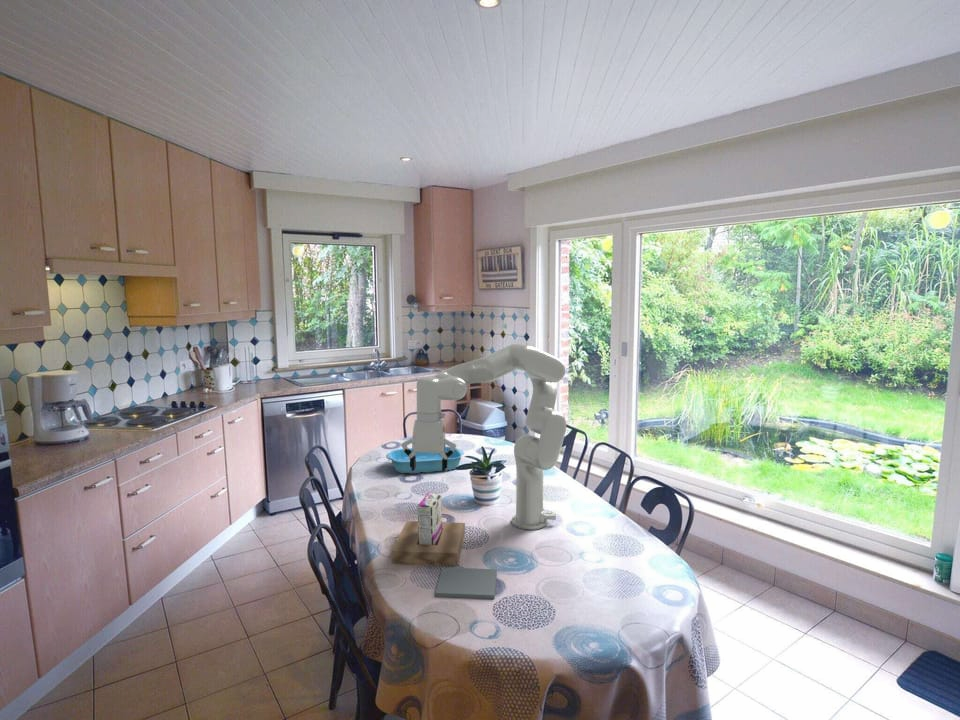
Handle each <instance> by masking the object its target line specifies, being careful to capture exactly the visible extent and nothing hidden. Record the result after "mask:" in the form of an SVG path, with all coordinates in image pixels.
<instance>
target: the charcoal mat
mask: <svg viewBox="0 0 960 720" xmlns="http://www.w3.org/2000/svg"><path fill="white" fill-rule="evenodd" d="M497 572H498V569H497V568H476V567H475V568H473V567H472V568H471V567H470V568H469V567H447V566H445V567H444V566H442V569H441V572H440V575H439V580H438V583H437V586H436V589H435V593H434V594H435V595H434V596H435V597H440V598H441V597H444V598H445V597H446V598H462V599H463V598H466V599H467V598H468V599H469V598H470V599H486V600H487V599H492V600H494V599H495V597H496V586H497V585H496V584H497V574H498V573H497Z"/></svg>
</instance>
